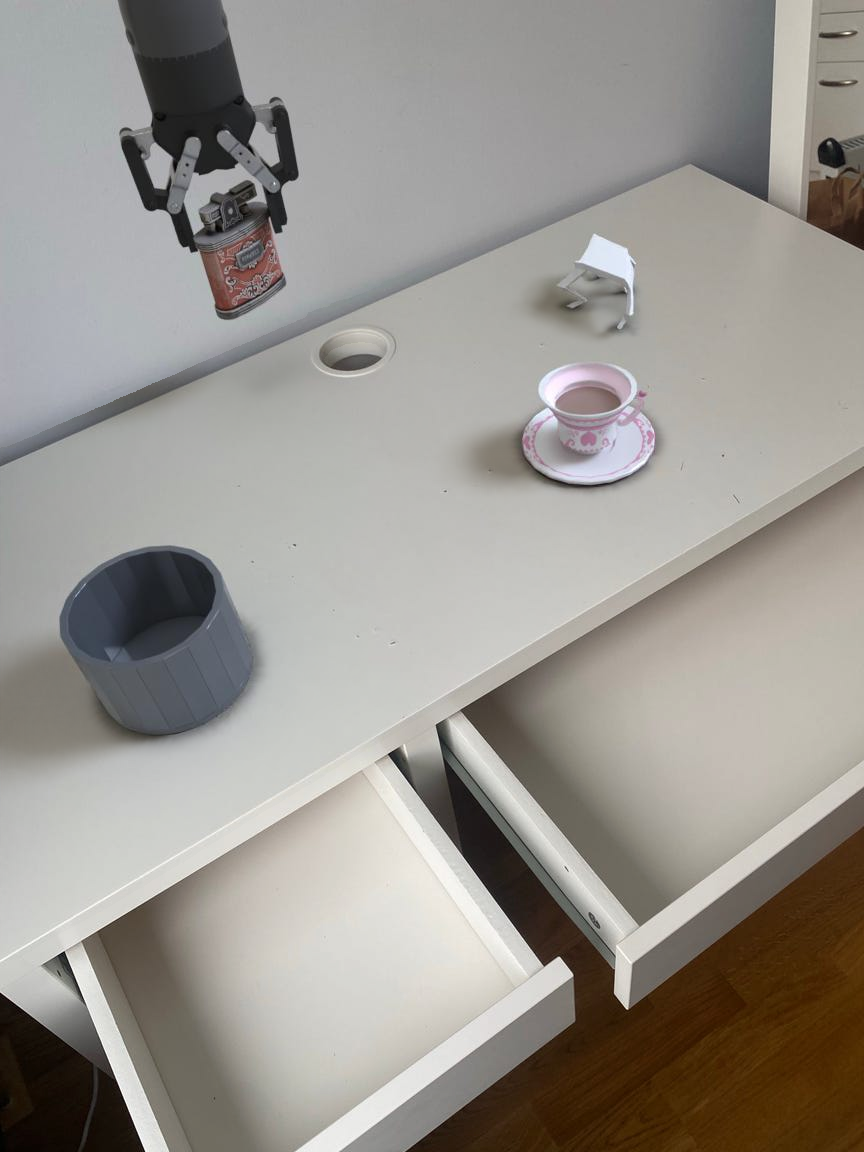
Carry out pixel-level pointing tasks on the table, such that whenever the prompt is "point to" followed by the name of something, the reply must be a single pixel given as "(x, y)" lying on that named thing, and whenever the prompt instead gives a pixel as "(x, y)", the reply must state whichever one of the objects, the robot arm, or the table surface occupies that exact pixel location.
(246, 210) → the lighter
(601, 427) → the teacup
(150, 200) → the robot arm
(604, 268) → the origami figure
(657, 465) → the table surface
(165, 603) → the blue-grey round bin
